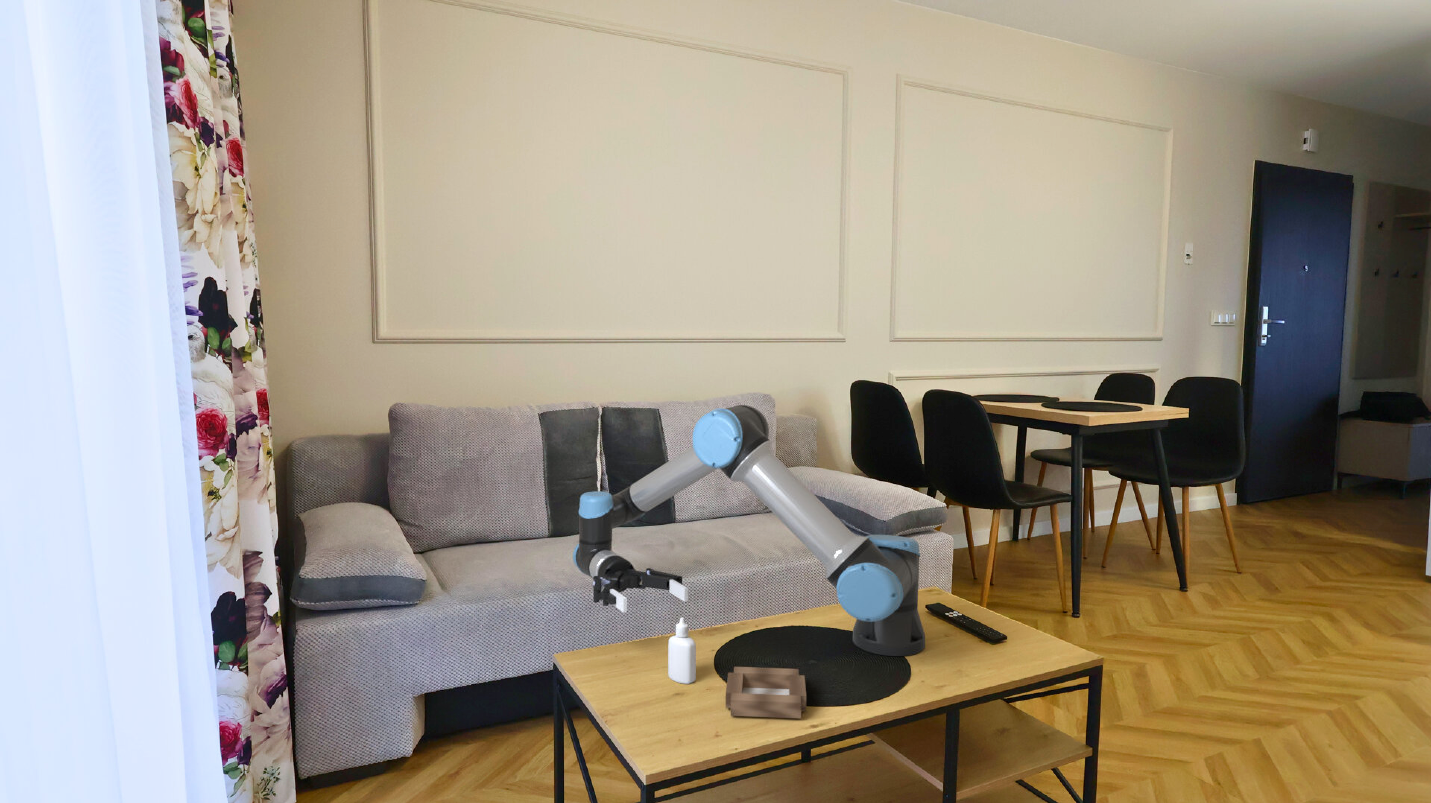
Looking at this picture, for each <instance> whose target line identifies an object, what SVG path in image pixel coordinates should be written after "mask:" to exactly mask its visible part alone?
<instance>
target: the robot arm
mask: <svg viewBox="0 0 1431 803" xmlns="http://www.w3.org/2000/svg"><path fill="white" fill-rule="evenodd" d="M769 435H770V427H769V424H768V421H767V419H766V417H765V415H764V414H763V413H762V412H761V411H760V410H759V409H757V408H756V407H753V406H750V405H747V404H739V405H734V406H730V407H726V408H721V407H720V408H716V409H713V410H711V411H709V412H707V413H705V414H704V415H703V416H701V417H700V418H699V419H698V421H697V422H696V424H695V425H694V427H693V430H692V437H691V438H692V446H691V447H689V448H687V449H686V450H684V451H683V452H681V453H679V454H678V455H677V456H675V457H673V458H671V459H670V460H669V461H667V462H665V463H664V464H662V465H661V466H660V467H658V468H656V469H655V470H653V471H651V472H650V473H648V474H646V475H645V476H643V477H642V478H640V479H638V480H637V481H635V482H634V483H632V484H631V485H630V486H627V487H626V488H624V489H623V490H621V491H619V492H617V493H616V494H613V495H612V494H611V493H609V492H607V491H602V490H601V491H599V490H598V491H597V490H596V491H594V490H593V491H588V492H584V493H583V494H581V495H580V497H579V509H578V531H579V532H578V537H579V538H578V539H579V540H578V544H577V545H576V546H575V547H574V550H573V551H572V552H573V553H572V561H573V563H574V565H575V567H576V568H578V570H579V571H580V572H581V573H582V574H584V575H586V576H588V577H590V578H591V579H592V584H593V585H592V588H593V593H592V594H593V598H592V599H593V600H592V602H593V603H594V604H595V603H599V602H600V601H602V606H605V607H607V606H610V605H612V606H614V607H615V608H617V609H618V610H619V611H620V612H622V613H627V612H628V598H627V597H626V596H624V595H623V594H621V593H622V592H624V591H626V590H627V589H630V590H631V589H632V590H633V589H639V590H640V589H641V590H645V589H646V588H650V589H655V590H656V589H657V590H664V591H669V593H670V594H671V595H673V596H675V597H677V598H678V599H679V600H681V601H683V602H688V601H689V600H688V599H689V589H688V588H689V587H687V586H685V585H684V584H683V576H681V575H679V574H678V575H677V574H674V573H669V572H663V571H661V570H660V571H658V570H656V569H653V568H651V567H648V568H645V569H646V570H645V571H639V570H637V569H635V567H634V565H633V564H632V563H631V561H629V560H628V559H626V558H624V557H623V556H622V555H620V554H618V553H616V552H614V551H613V550H612V545H613V544H612V542H613V530H614V529H615V528H618V527H621V526H623V525H625V524H628V523H630V522H635V521H637V520H639V519H641V518H642V517H643V516H644V515H645V514H646V513H647V512H649V511H650V510H652V509H654V508H655V507H657V506H658V505H661V504H662V503H664V502H665V501H668V499H671V498H672V497H673V496H675V495H677V494H678V493H680V492H682V491H683V490H685V489H687V488H689V487H690V486H692V485H694V484H695V483H697V482H698V481H700V480H702V479H703V478H705V477H707V476H708V475H711V474H712V473H713V472H715V471H717V470H718V469H719V470H720V471H721V472H722V473H723V474H724V475H725V476H726V477H727V478H728V479H729V480H730V481H731V482H742V483H744V484H745V485H746V487H747V488H748V489H749V490H750V491H751V492H752V493H753V494H754V496H756V497H757V498H758V499H759V500H760V502H762V503H763V504H764V505H765V506H766V507H767V508H768V509H769V510H770V512H771V513H773V514H774V515H775V517H776V518H777V519H778V520H779V521H780V522H781V523H782V524H783V525H784V526H785V527H786V528H787V529H788V530H789V531H790V532H791V533H792V534H793V535H794V536H795V537H796V538H797V539H798V540H799V541H800V542H801V543H802V544H803V545H804V546H805V548H807V550H808V551H809V552H810V553H812V554H813V556H814V557H815V558H816V559H817V560H819V562H820V563H821V564H822V565H823V566H824V569H825V579H826V580H827V581H828V582H829V583H830V584H831V585H832V586H833V587H834V588H835V590H836V594H837V596H836V597H837V600H838V603H839V604H840V606H841V607H842V609H843V610H844V611H845V612H846V613H847V614H848V615H849V616H851V618H854V619H856V620H855V623H854V626H853V629H852V642H853V644H854V645H855V646H856V647H858V648H859V649H861V650H863V651H865V652H868V653H872V654H875V655H879V656H880V655H881V656H888V657H905V656H911V655H916V654H919V653H921V652H923V650H925V649H926V648H925V647H926V633H925V631H924V627H923V624H922V620H921V616H920V614H919V608H918V606H919V605H918V603H919V580H920V579H919V578H920V577H919V576H920V557H921V552H920V544H919V543H918V541H917V540H915V539H914V538H910V537H907V536H906V537H904V536H898V535H891V534H889V535H888V534H869V535H866V536H857V535H855V534H854V533H853V532H852V531H851V530H850V529H849V528H848V527H847V526H846V525H845V524H844V523H843V521H841V520H840V519H839V518H838V517H837V516H836V515H835V514H834V513H833V512H832V511H831V510H830V509H829V508H828V507H827V506H826V505H825V504H824V503H823V502H822V501H821V500H820V499H819V497H817V496H816V495H815V494H814V493H813V492H812V491H811V490H810V489H809V488H808V487H806V485H805V484H804V483H803V482H802V481H801V480H800V479H799V478H798V477H797V476H796V475H795V474H794V473H793V472H792V471H791V470H790V469H789V468H788V467H787V466H786V465H785V464H784V463H783V462H782V461H781V460H780V459H779V458H778V457H777V456H776V455H775V454H774V453H773V443H772V441H771V440H770V438H769V437H770V436H769Z"/></svg>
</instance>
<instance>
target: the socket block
mask: <svg viewBox="0 0 1431 803" xmlns="http://www.w3.org/2000/svg"><path fill="white" fill-rule="evenodd" d="M726 681H727V682H726V688H725V689H726V690H725V709H730V716H733V717H757V718H759V717H760V718H778V719H779V718H780V719H781V718H782V719H783V718H785V719H801V718H802V712H806V711H807V691H806V690H807V689H806V678H805V675H804V674H803V675H801V674H800V671H799V668H783V667H779V668H778V667H777V668H776V667H755V666H754V667H752V666H734V667H733V672H727V680H726Z"/></svg>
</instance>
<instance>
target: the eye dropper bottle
mask: <svg viewBox="0 0 1431 803" xmlns="http://www.w3.org/2000/svg"><path fill="white" fill-rule="evenodd" d="M689 626H690V625H689V623H686V621H685V617H682V616H681V617H680V618H679V622H678V623H676V624H675V635H672V636H670V637H669V639H668V642H667V643H668V644H667V645H668V646H667V647H668V648H667V652H668V653H667V654H668V655H667V656H668V657H667V662H668V663H667V673H668V674H667V675H668V678H670V680H672V681H673V682H676V683H679V684H684V685H689V684H691V683H694V682H695V681H696V678H697V677H696V676H697V672H696V670H697V669H696V668H697V648H696V647H697V644H696V642H695V640H694V639H692V638H691V636H689V628H690V627H689Z"/></svg>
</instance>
